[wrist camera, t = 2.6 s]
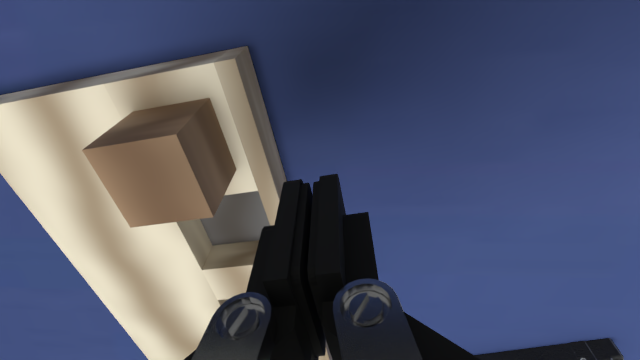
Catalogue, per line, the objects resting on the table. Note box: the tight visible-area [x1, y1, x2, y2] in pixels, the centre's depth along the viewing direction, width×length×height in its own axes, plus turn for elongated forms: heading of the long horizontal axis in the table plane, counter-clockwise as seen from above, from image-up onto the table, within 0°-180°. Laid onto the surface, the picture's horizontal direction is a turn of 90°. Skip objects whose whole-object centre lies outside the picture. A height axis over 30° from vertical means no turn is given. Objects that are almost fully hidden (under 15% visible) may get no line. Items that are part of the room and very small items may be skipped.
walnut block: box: [82, 98, 237, 228], centre depth 16 cm, size 4×4×4 cm
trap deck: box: [0, 46, 332, 360], centre depth 23 cm, size 15×25×5 cm, turn 11°
